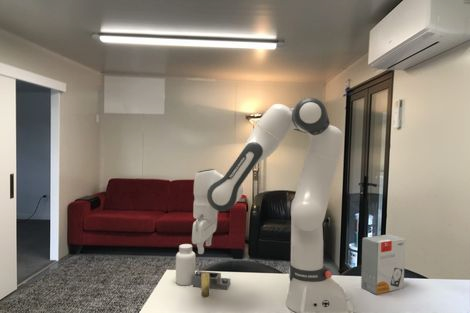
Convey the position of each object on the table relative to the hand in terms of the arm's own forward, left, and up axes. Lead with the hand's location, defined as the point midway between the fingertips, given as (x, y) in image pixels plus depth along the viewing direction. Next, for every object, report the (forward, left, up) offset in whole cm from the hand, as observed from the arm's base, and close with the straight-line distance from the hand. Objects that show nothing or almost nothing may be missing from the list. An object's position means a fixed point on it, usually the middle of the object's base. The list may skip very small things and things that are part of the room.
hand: (204, 249), depth 117 cm
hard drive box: (-67, -20, -18) cm, 72 cm away
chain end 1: (+2, -9, -17) cm, 20 cm away
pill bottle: (+11, -10, -18) cm, 23 cm away
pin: (0, 0, -17) cm, 17 cm away
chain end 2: (-2, -9, -17) cm, 20 cm away
